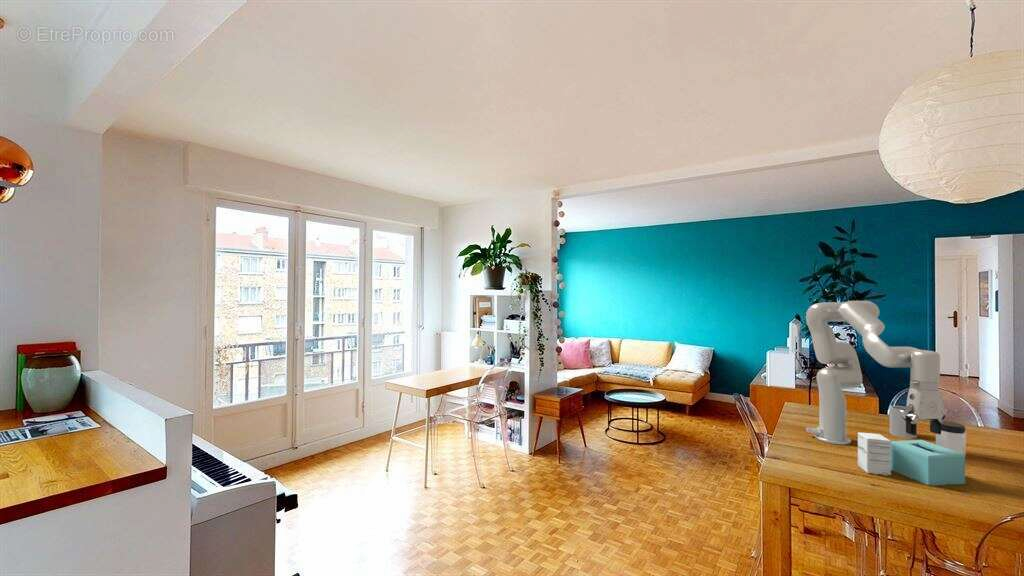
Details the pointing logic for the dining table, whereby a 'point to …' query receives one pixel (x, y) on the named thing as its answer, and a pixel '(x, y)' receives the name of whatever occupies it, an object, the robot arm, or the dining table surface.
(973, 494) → the dining table surface
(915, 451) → the coin box
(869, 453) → the supplement box
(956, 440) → the jar
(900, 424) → the cup
